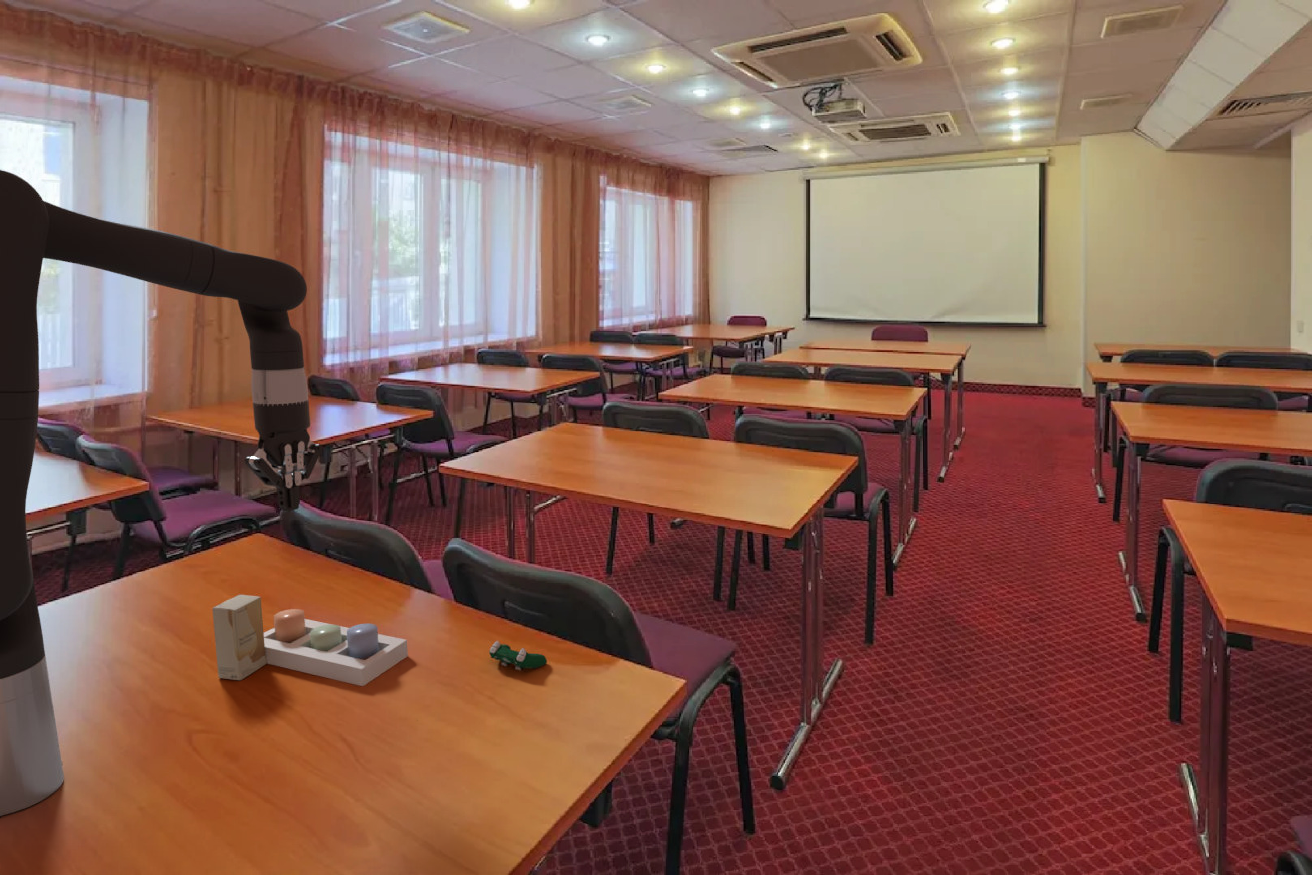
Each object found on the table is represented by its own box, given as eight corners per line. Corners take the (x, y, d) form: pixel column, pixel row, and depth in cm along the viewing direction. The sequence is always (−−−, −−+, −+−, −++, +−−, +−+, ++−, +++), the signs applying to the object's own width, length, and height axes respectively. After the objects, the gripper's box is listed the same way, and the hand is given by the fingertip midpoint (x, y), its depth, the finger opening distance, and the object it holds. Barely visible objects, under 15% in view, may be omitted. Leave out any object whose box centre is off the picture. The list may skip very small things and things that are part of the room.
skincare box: (240, 681, 121) (233, 610, 118) (217, 678, 122) (209, 608, 119) (268, 663, 127) (262, 595, 125) (246, 660, 128) (239, 592, 125)
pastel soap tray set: (362, 686, 120) (361, 668, 119) (246, 658, 128) (244, 642, 128) (407, 655, 130) (406, 639, 129) (297, 632, 138) (295, 616, 138)
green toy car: (497, 666, 130) (480, 654, 126) (507, 646, 132) (490, 633, 128) (540, 680, 126) (524, 667, 122) (549, 658, 128) (534, 645, 124)
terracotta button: (290, 644, 128) (288, 622, 128) (269, 639, 130) (267, 617, 129) (312, 632, 133) (310, 611, 132) (291, 628, 134) (289, 607, 134)
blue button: (365, 660, 123) (363, 638, 122) (341, 655, 125) (340, 633, 124) (385, 648, 127) (383, 626, 127) (362, 643, 129) (361, 621, 128)
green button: (327, 660, 126) (325, 638, 125) (305, 655, 128) (303, 633, 127) (348, 648, 130) (346, 627, 130) (326, 643, 132) (325, 622, 131)
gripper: (262, 405, 105) (273, 524, 108) (333, 394, 117) (341, 501, 120) (223, 402, 107) (234, 518, 110) (296, 392, 119) (304, 496, 123)
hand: (290, 509), depth 115 cm, fingers closed
